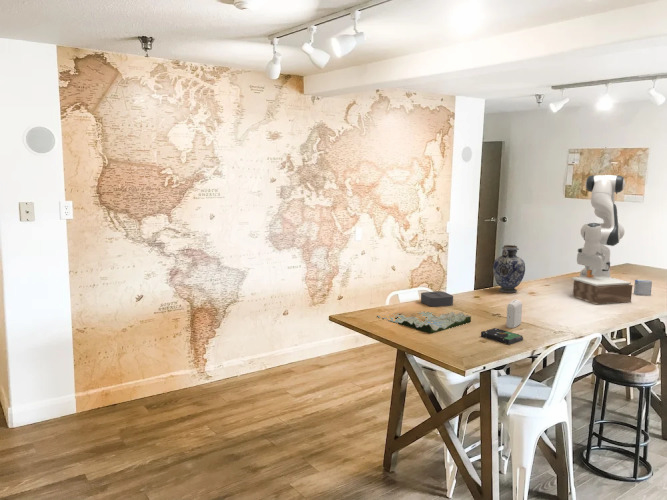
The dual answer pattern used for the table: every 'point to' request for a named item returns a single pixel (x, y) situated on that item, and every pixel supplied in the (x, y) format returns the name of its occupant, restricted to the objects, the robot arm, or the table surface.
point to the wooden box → (602, 293)
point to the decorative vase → (509, 269)
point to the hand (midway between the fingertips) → (590, 274)
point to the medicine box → (642, 287)
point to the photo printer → (514, 314)
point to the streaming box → (436, 299)
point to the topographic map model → (438, 322)
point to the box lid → (600, 280)
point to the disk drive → (502, 336)
